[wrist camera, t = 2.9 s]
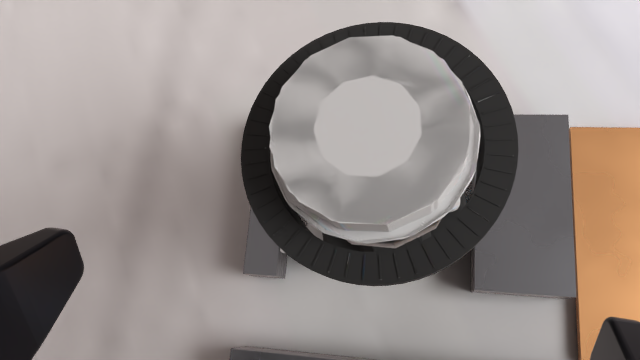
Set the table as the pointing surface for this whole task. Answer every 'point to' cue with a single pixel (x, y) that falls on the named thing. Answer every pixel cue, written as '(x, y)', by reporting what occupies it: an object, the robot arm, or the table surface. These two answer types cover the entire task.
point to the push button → (379, 153)
